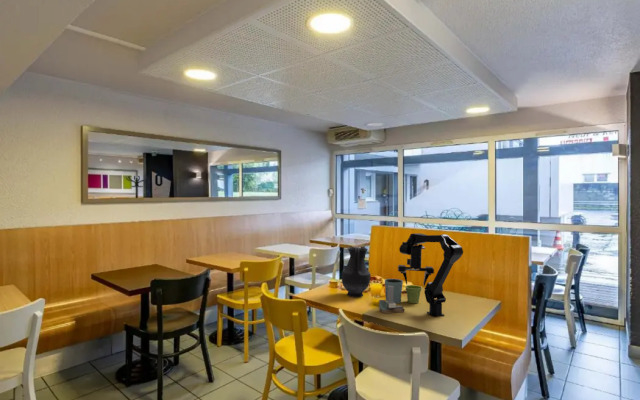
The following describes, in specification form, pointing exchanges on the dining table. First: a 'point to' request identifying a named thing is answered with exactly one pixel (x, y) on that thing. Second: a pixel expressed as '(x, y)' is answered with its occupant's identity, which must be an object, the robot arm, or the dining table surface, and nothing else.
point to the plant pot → (413, 293)
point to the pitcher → (356, 273)
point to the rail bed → (385, 309)
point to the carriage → (390, 298)
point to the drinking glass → (394, 289)
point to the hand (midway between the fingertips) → (415, 284)
